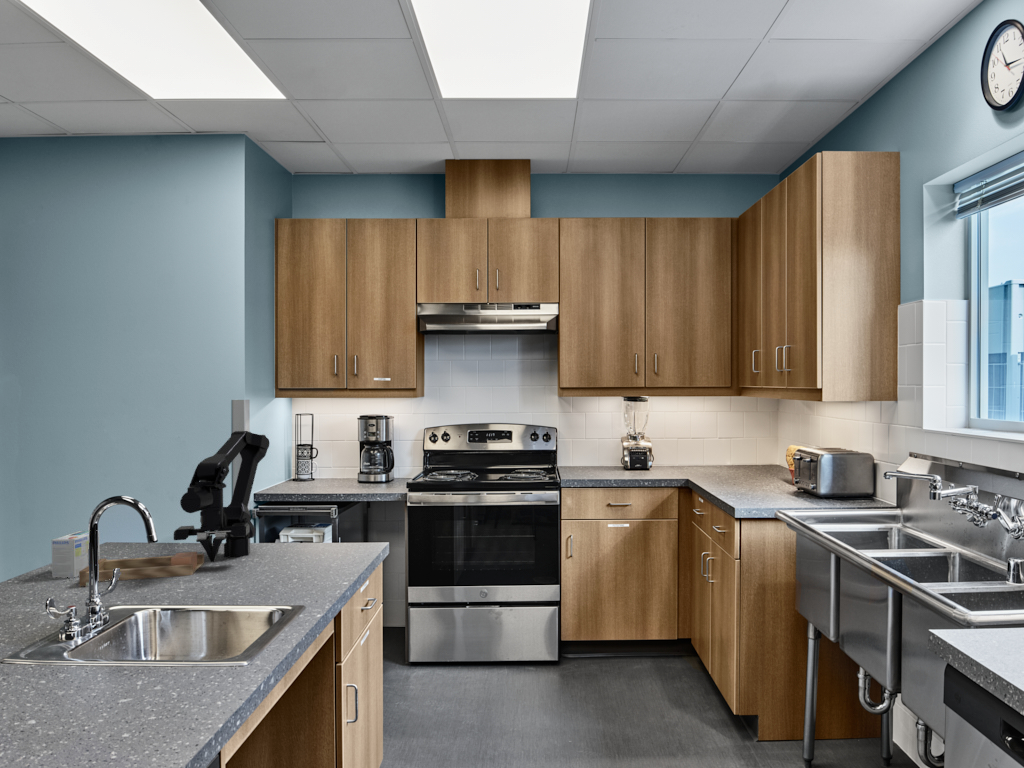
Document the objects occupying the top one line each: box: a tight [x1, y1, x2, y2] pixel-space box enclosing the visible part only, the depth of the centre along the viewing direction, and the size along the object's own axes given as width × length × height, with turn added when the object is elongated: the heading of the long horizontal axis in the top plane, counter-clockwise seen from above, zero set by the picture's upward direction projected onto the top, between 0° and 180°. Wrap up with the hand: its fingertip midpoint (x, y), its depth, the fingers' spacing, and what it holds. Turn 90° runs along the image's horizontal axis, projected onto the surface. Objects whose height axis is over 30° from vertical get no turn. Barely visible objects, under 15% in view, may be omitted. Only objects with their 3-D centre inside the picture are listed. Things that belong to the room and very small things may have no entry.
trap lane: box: [78, 553, 205, 588], centre depth 176 cm, size 27×13×4 cm, turn 102°
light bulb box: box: [51, 530, 101, 579], centre depth 181 cm, size 11×7×11 cm, turn 178°
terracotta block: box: [171, 551, 198, 569], centre depth 178 cm, size 5×6×4 cm
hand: (212, 561), depth 180 cm, fingers closed
